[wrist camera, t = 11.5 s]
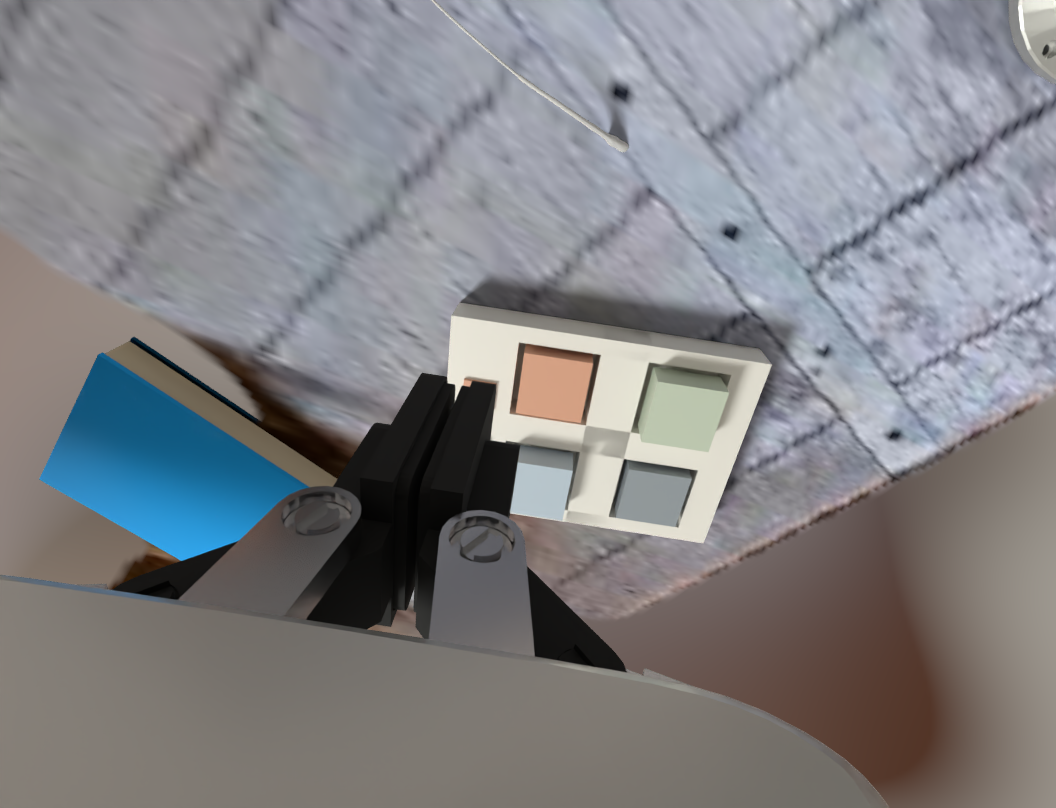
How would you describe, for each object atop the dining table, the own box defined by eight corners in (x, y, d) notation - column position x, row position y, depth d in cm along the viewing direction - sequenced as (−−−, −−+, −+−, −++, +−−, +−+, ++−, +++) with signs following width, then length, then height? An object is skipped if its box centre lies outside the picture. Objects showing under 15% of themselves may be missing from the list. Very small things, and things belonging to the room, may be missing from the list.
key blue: (572, 452, 44) (572, 471, 42) (562, 501, 46) (562, 520, 44) (511, 443, 44) (508, 461, 42) (505, 492, 46) (501, 511, 44)
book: (95, 352, 42) (365, 528, 48) (135, 333, 46) (382, 498, 52) (35, 484, 49) (278, 624, 55) (75, 458, 53) (298, 591, 59)
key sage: (720, 377, 40) (729, 392, 38) (701, 434, 42) (708, 452, 40) (653, 366, 40) (657, 381, 38) (637, 424, 42) (641, 441, 40)
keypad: (759, 348, 41) (773, 366, 38) (696, 520, 49) (704, 545, 46) (459, 302, 41) (450, 316, 38) (446, 481, 49) (438, 504, 46)
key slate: (686, 461, 45) (691, 479, 43) (670, 507, 47) (675, 527, 45) (626, 452, 45) (629, 469, 43) (614, 499, 47) (616, 517, 45)
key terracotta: (592, 350, 41) (593, 363, 39) (580, 407, 43) (580, 422, 41) (526, 340, 41) (524, 352, 39) (518, 397, 43) (515, 412, 41)
